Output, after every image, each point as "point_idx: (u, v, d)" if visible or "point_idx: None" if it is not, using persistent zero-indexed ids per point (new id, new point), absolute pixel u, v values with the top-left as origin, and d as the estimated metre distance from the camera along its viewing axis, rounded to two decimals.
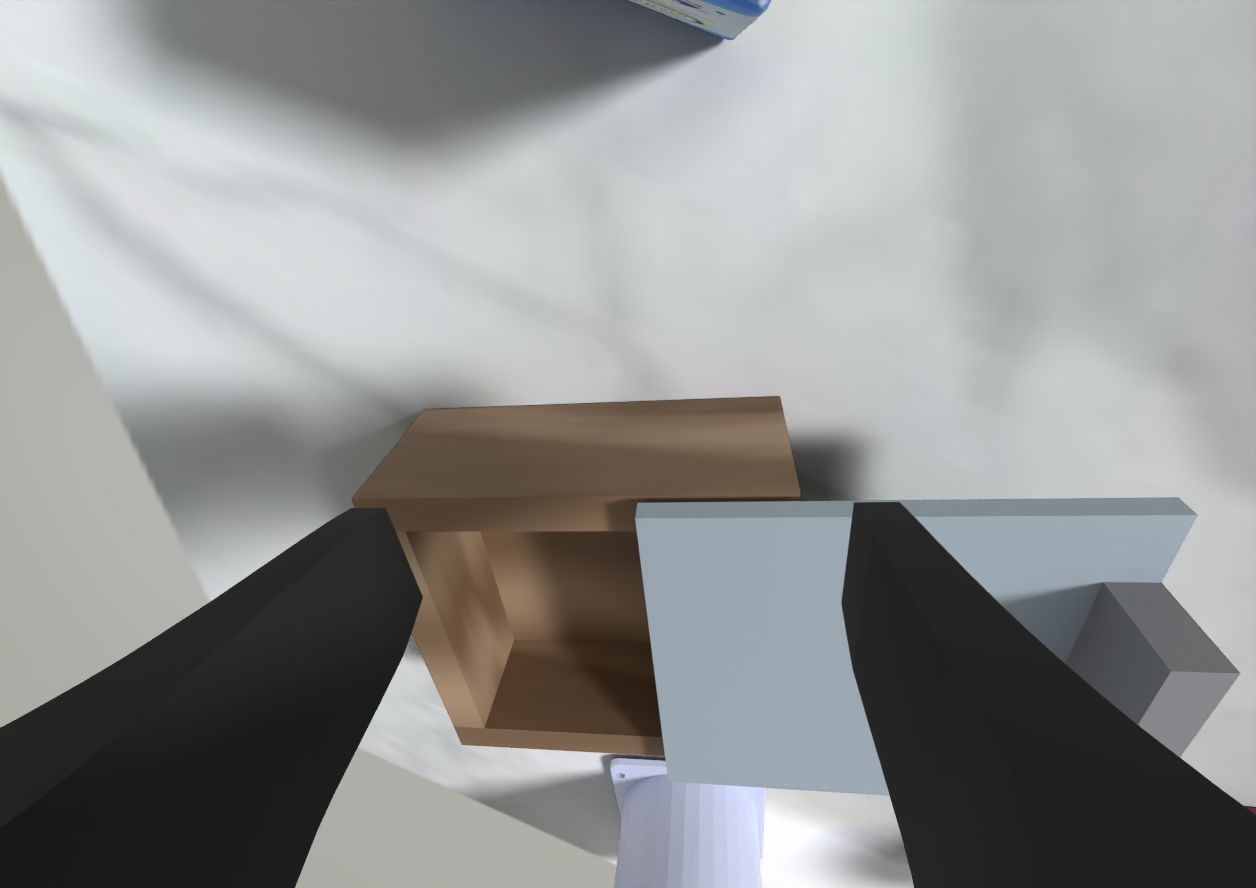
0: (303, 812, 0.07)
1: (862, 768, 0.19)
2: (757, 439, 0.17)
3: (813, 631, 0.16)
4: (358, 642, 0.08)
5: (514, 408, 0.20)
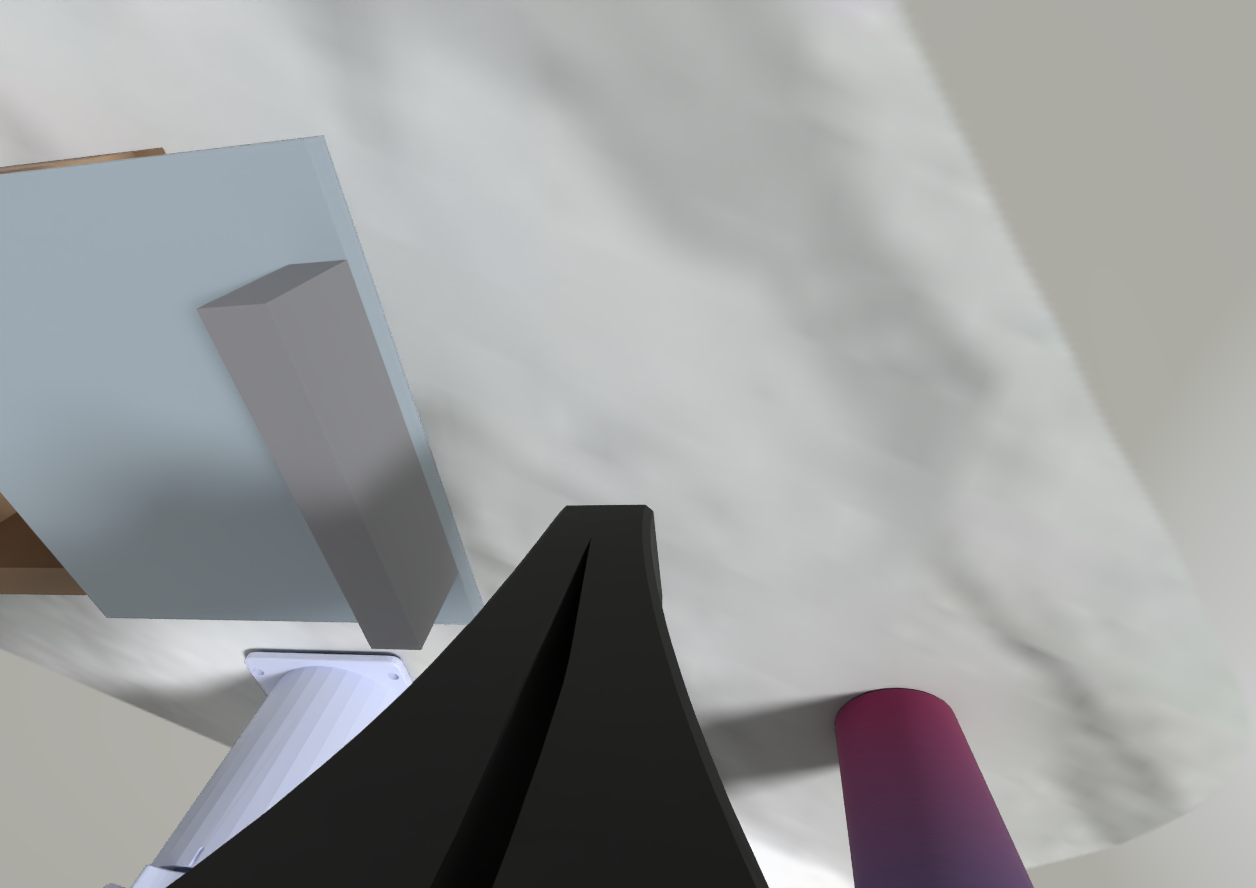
0: None
1: (270, 583, 0.16)
2: (50, 163, 0.14)
3: (67, 373, 0.13)
4: None
5: None
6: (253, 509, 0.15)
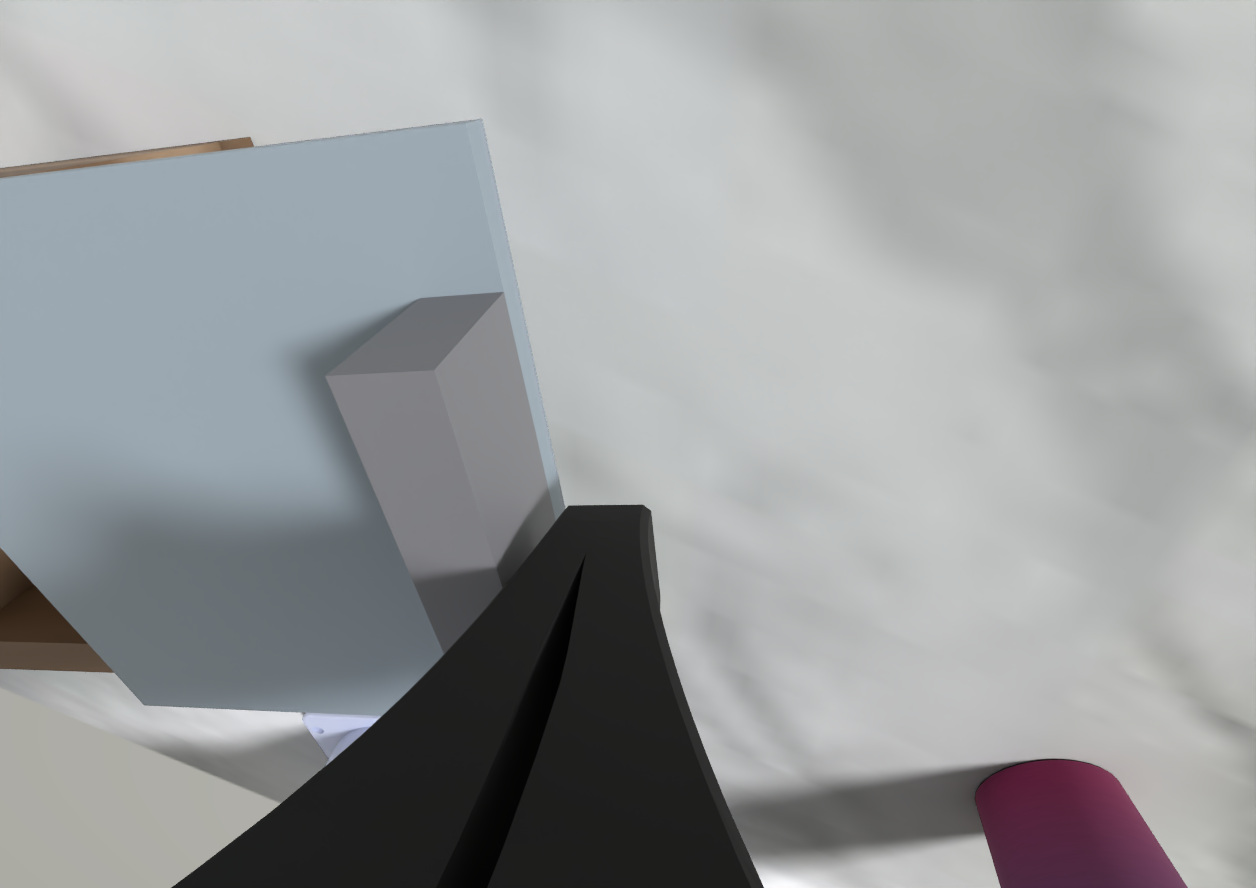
0: None
1: (348, 674, 0.13)
2: (121, 156, 0.11)
3: (108, 432, 0.10)
4: None
5: None
6: (336, 594, 0.12)
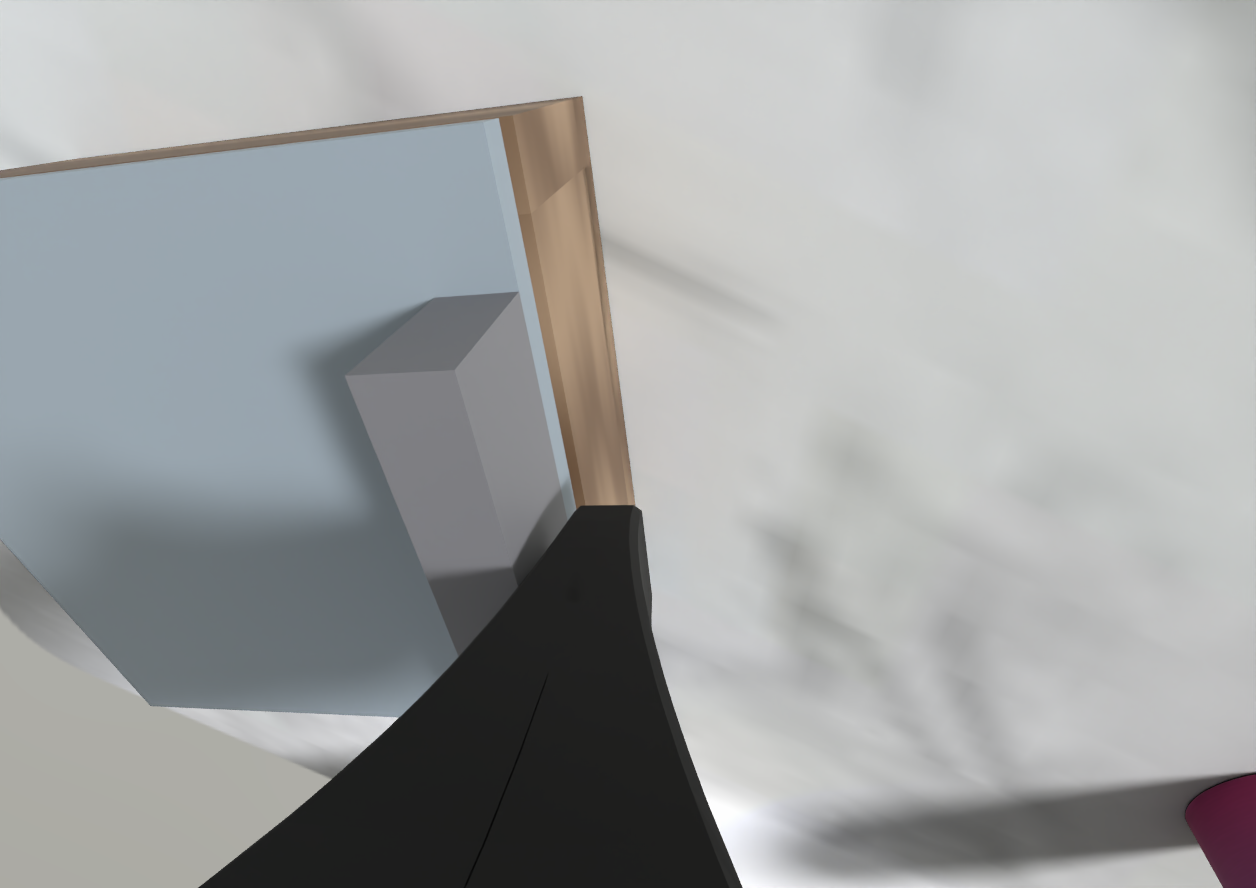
0: None
1: (356, 675, 0.13)
2: (504, 110, 0.10)
3: (118, 432, 0.10)
4: None
5: (194, 144, 0.13)
6: (345, 595, 0.12)
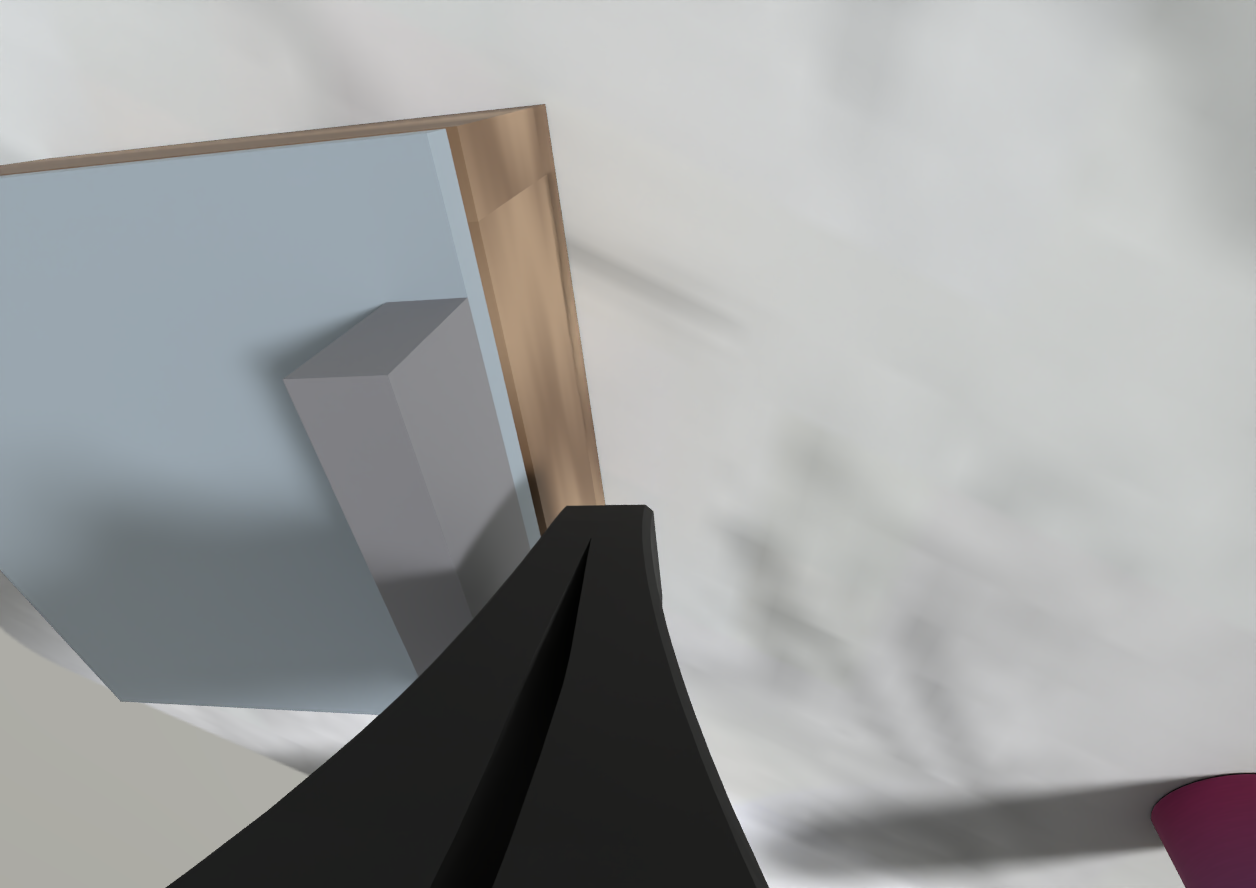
0: None
1: (323, 672, 0.13)
2: (461, 118, 0.10)
3: (81, 431, 0.10)
4: None
5: (164, 146, 0.13)
6: (309, 592, 0.12)
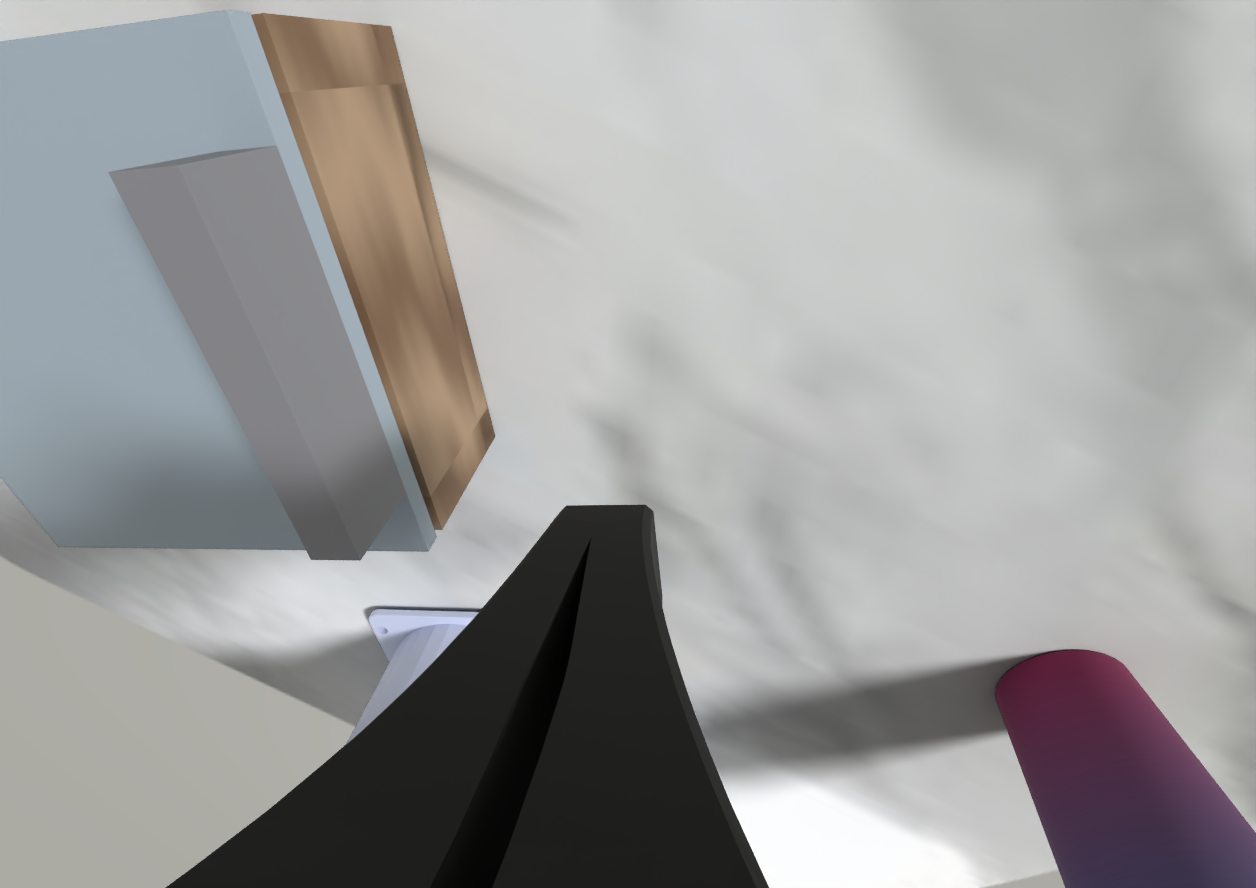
0: None
1: (219, 507, 0.16)
2: None
3: (2, 275, 0.13)
4: None
5: None
6: (198, 425, 0.15)
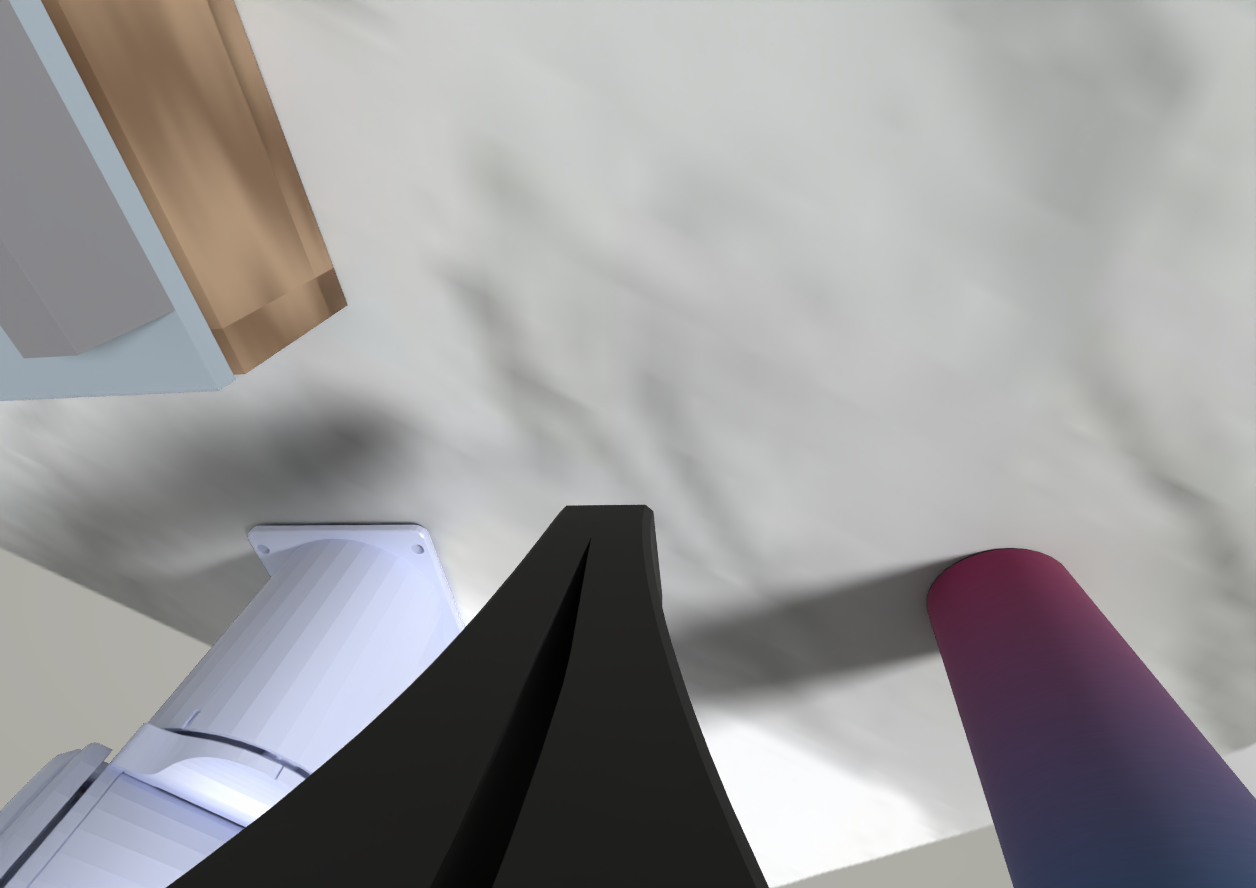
0: None
1: None
2: None
3: None
4: None
5: None
6: None
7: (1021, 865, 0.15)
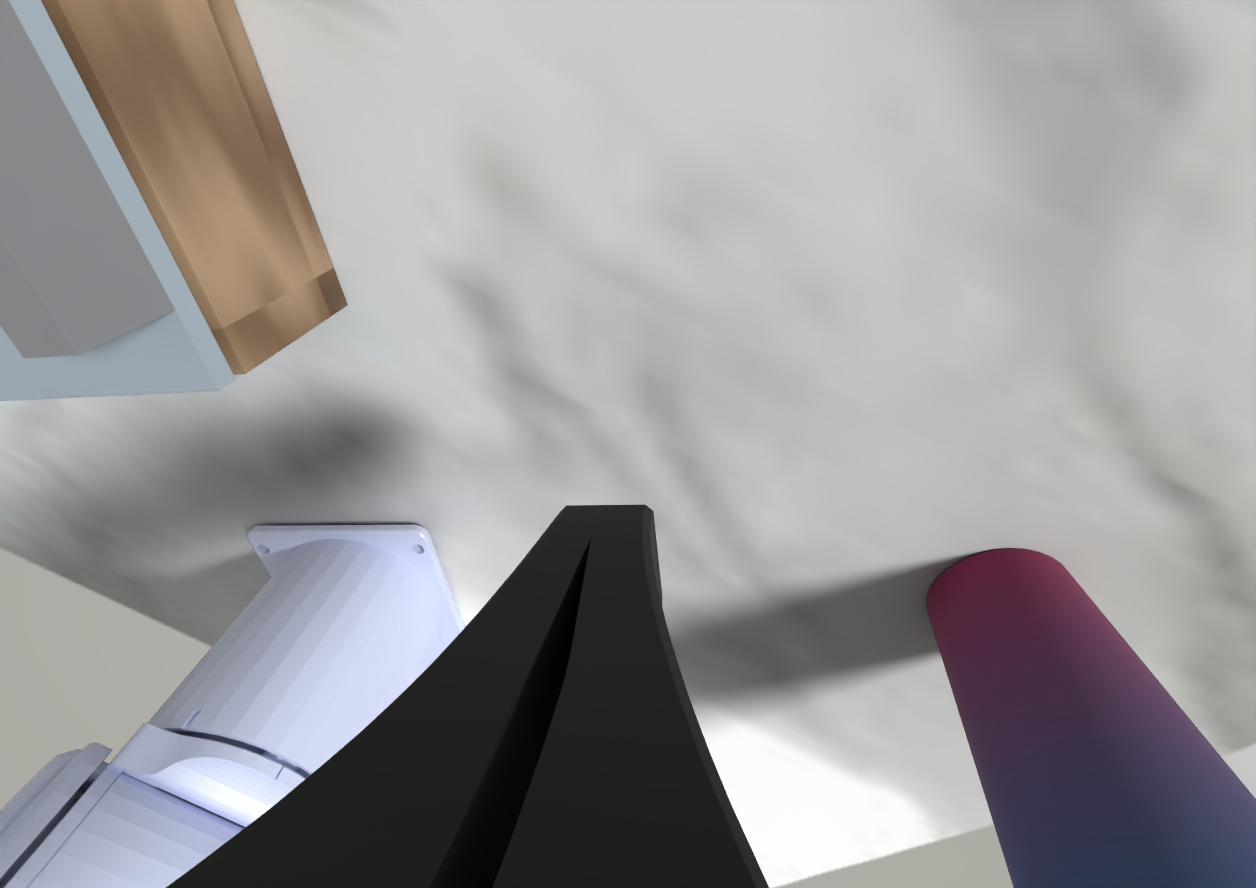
0: None
1: None
2: None
3: None
4: None
5: None
6: None
7: (1021, 865, 0.15)
